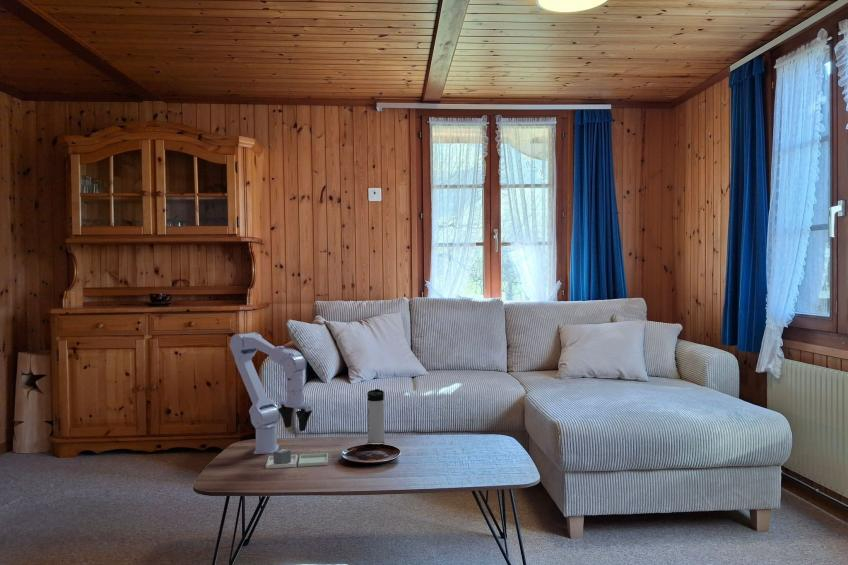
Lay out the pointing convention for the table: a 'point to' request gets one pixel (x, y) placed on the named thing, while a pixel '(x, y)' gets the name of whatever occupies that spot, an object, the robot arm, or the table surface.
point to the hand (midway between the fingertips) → (295, 428)
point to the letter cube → (282, 456)
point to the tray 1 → (271, 464)
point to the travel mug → (375, 416)
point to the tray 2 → (313, 459)
